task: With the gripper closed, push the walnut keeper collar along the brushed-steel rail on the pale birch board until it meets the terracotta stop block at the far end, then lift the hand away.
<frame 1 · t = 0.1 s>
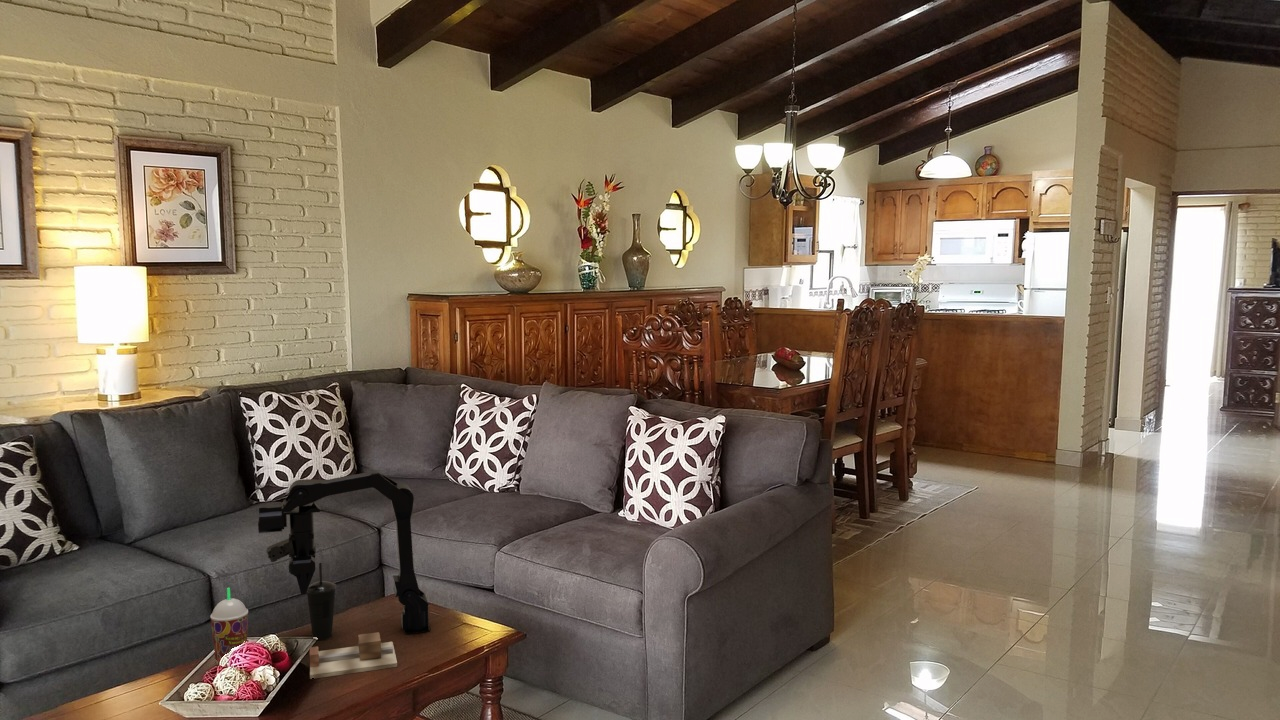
hand: (303, 588, 230), 15 cm above the table, fingers open, 9 cm apart
keeper: (369, 645, 222), point 3 cm above the table, slide at 0.0 cm
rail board: (353, 661, 220), on the table
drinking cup: (322, 637, 236), on the table
smoothie: (231, 668, 216), on the table
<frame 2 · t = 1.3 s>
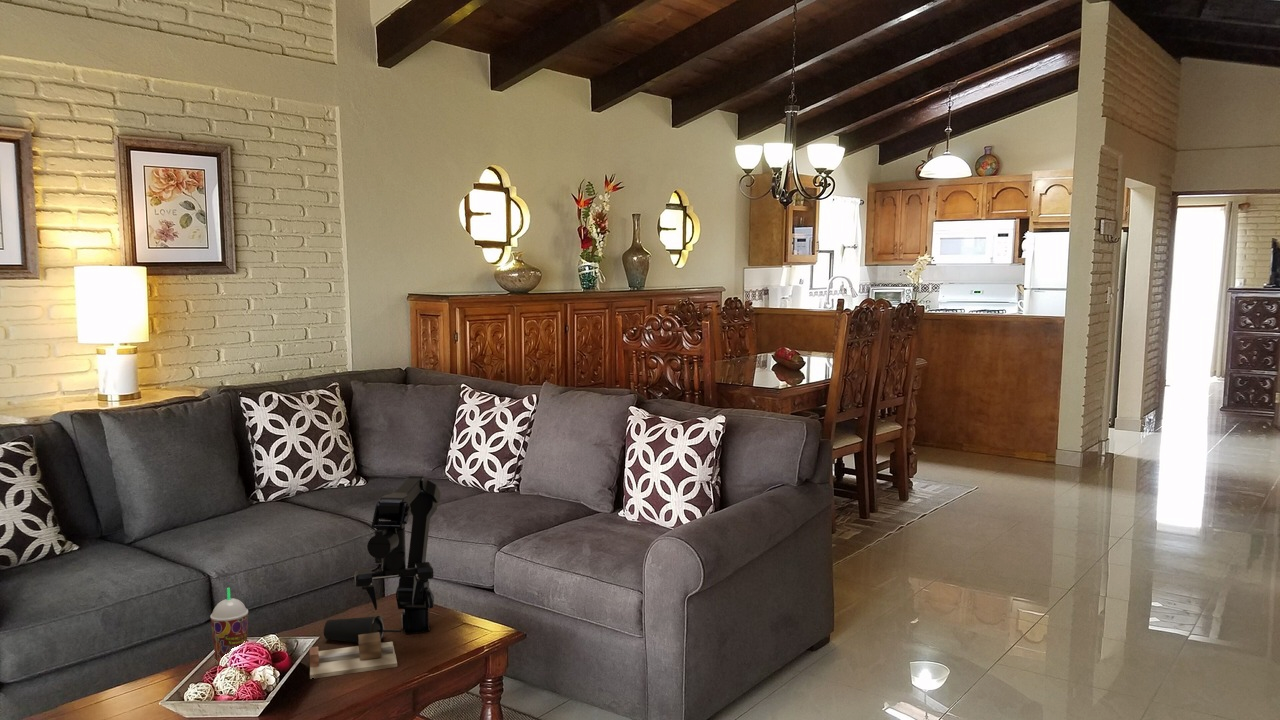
hand: (394, 607, 224), 12 cm above the table, fingers open, 9 cm apart
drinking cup: (327, 629, 234), point 3 cm above the table
everything else where it was.
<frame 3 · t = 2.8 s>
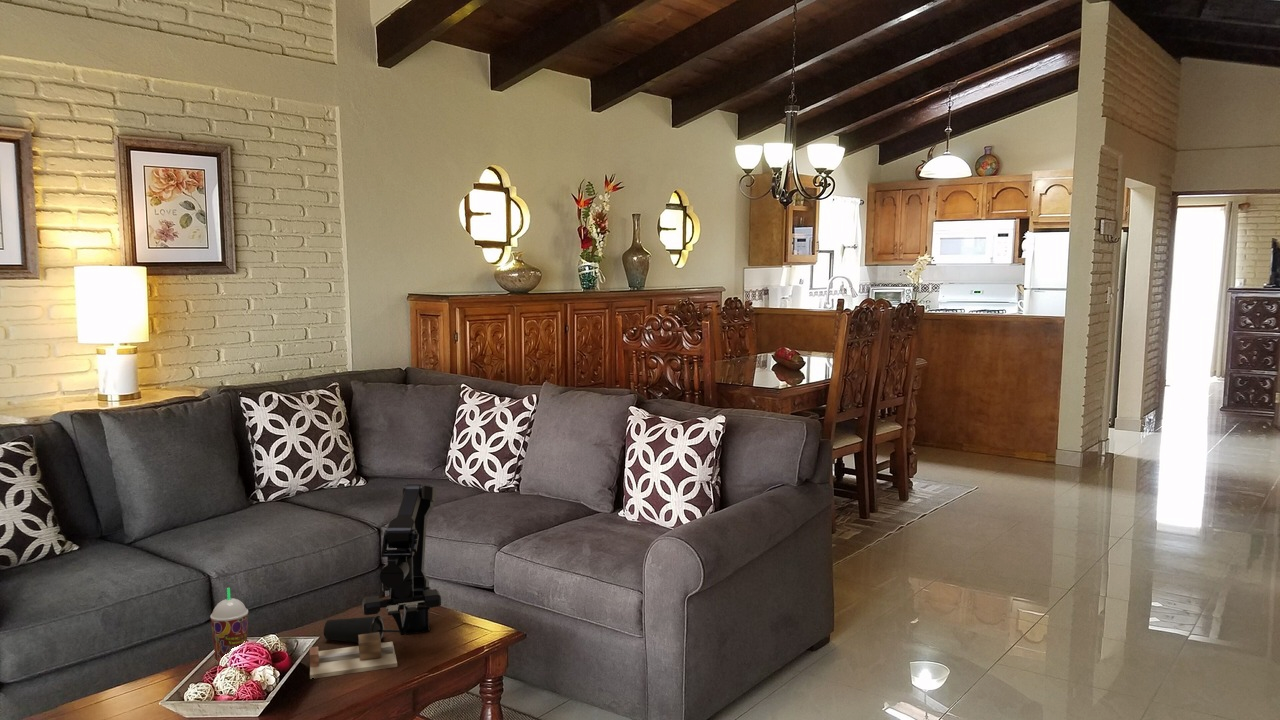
hand: (402, 634, 224), 5 cm above the table, fingers closed
nothing on the table moved.
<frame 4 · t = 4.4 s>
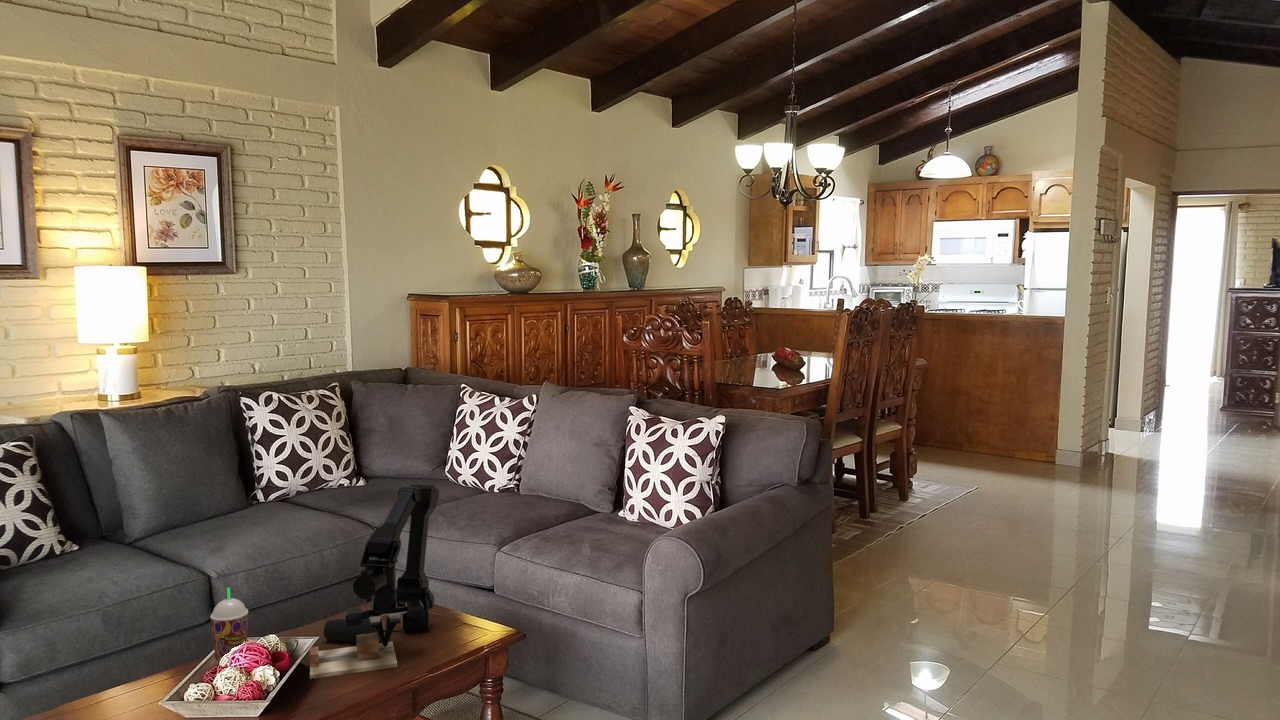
hand: (385, 646, 223), 3 cm above the table, fingers closed
keeper: (367, 646, 221), point 3 cm above the table, slide at 0.5 cm, touching gripper
everything else where it was.
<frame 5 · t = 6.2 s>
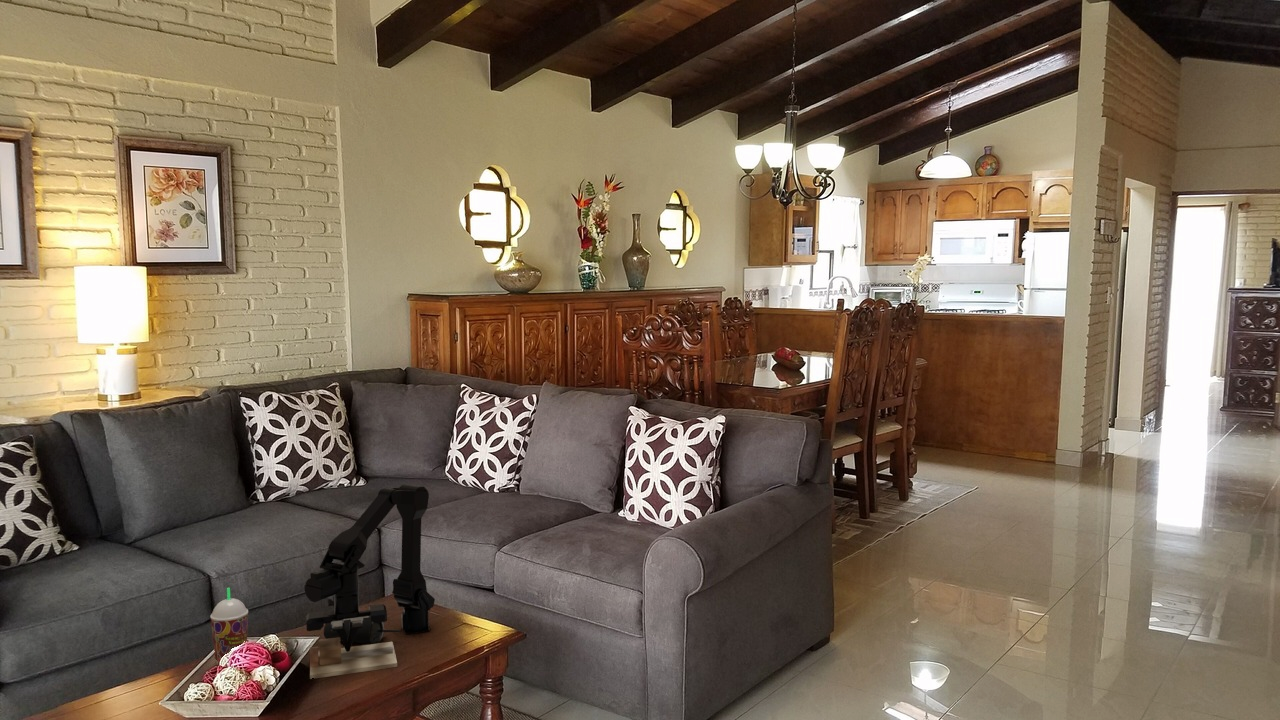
hand: (347, 650, 220), 3 cm above the table, fingers closed
keeper: (330, 651, 218), point 3 cm above the table, slide at 9.3 cm, touching gripper
everything else where it was.
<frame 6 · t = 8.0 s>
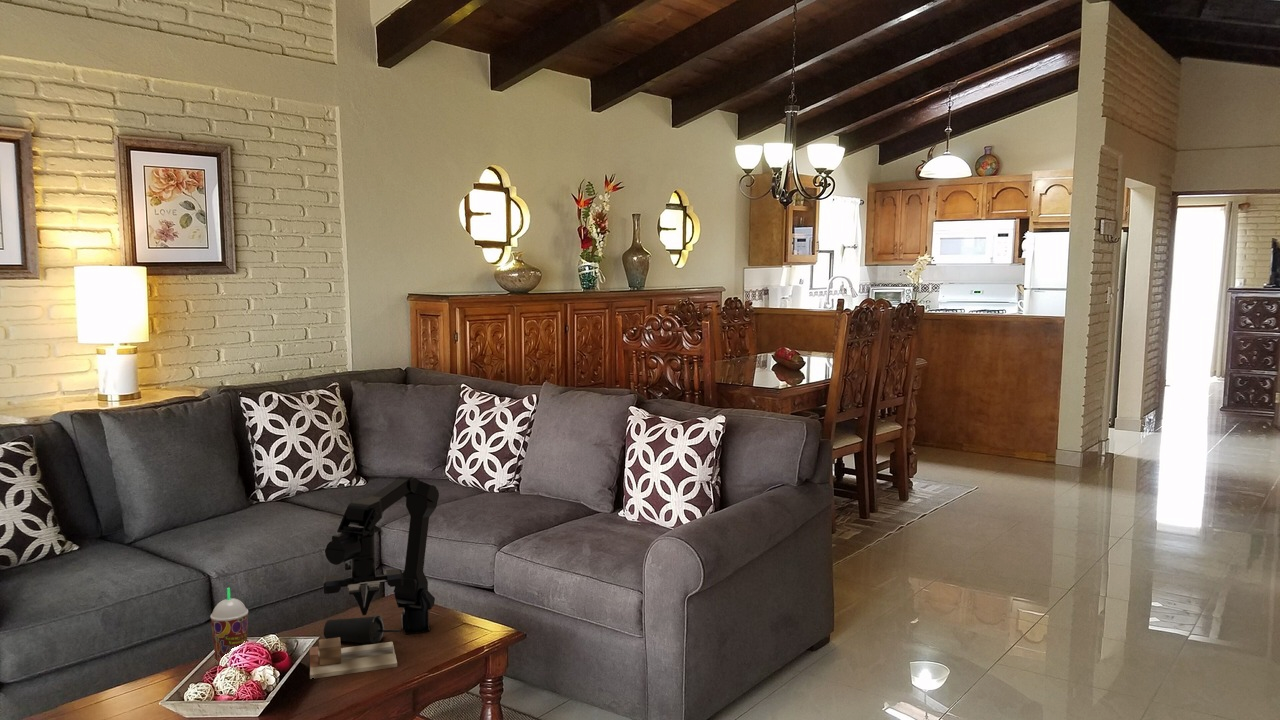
hand: (364, 614, 220), 12 cm above the table, fingers closed
keeper: (330, 651, 218), point 3 cm above the table, slide at 9.3 cm
everything else where it was.
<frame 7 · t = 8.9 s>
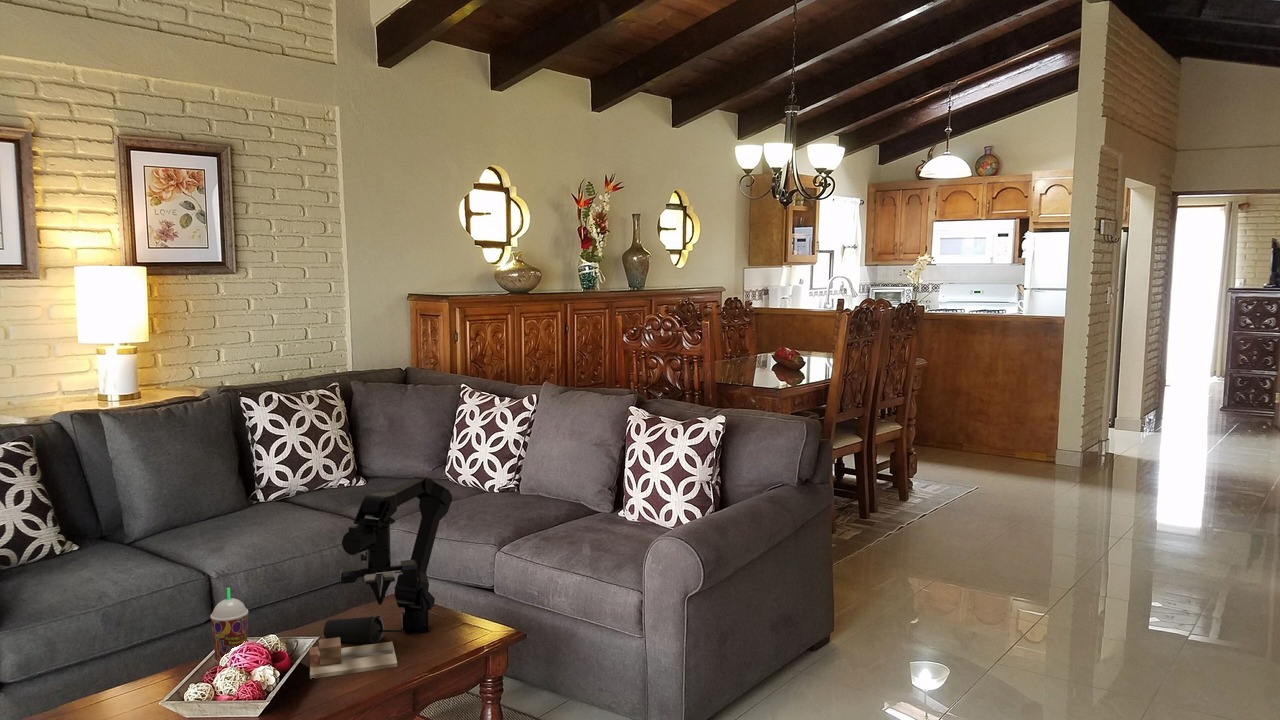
hand: (379, 604, 226), 12 cm above the table, fingers closed
nothing on the table moved.
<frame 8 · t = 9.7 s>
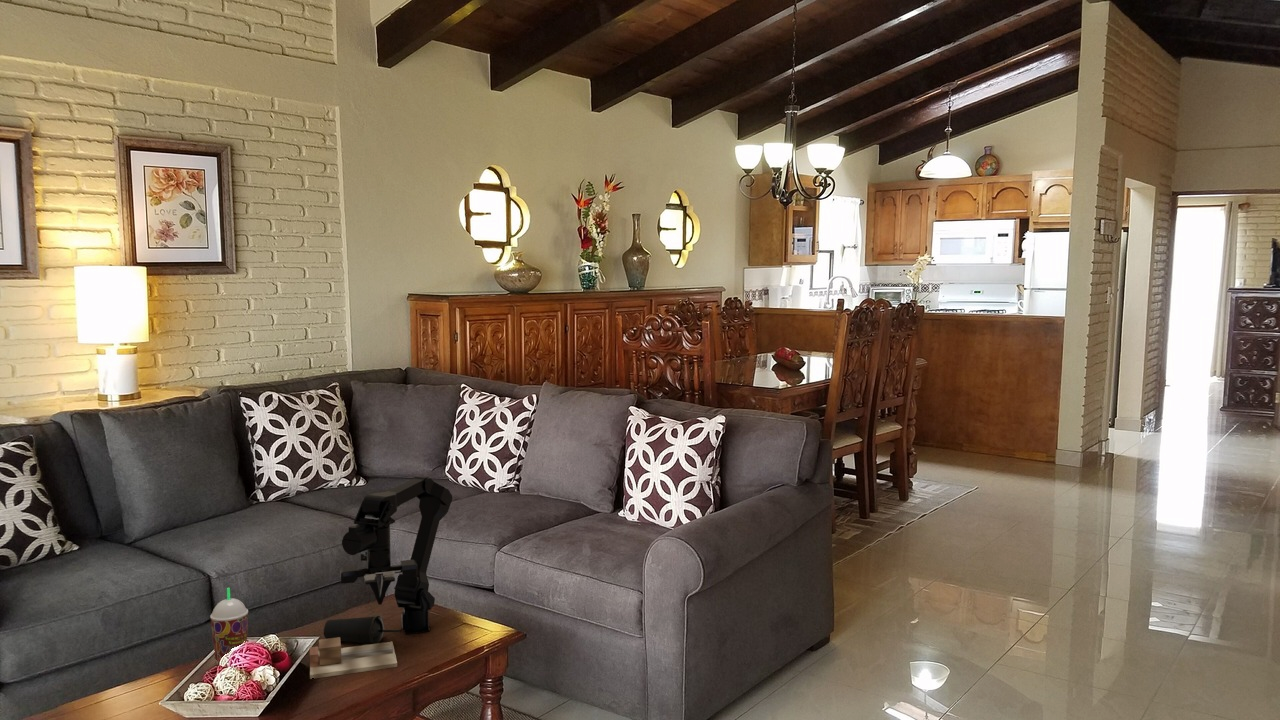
hand: (379, 604, 226), 12 cm above the table, fingers closed
nothing on the table moved.
at the end: keeper slide at 9.3 cm; keeper 0.4 cm from the target spot on the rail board, point 3.4 cm above the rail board's base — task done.
